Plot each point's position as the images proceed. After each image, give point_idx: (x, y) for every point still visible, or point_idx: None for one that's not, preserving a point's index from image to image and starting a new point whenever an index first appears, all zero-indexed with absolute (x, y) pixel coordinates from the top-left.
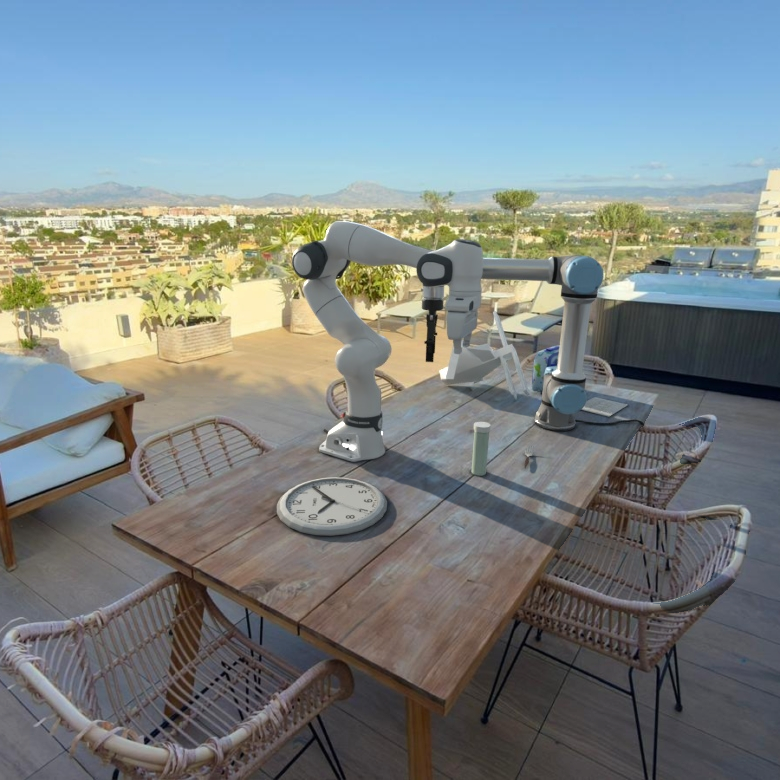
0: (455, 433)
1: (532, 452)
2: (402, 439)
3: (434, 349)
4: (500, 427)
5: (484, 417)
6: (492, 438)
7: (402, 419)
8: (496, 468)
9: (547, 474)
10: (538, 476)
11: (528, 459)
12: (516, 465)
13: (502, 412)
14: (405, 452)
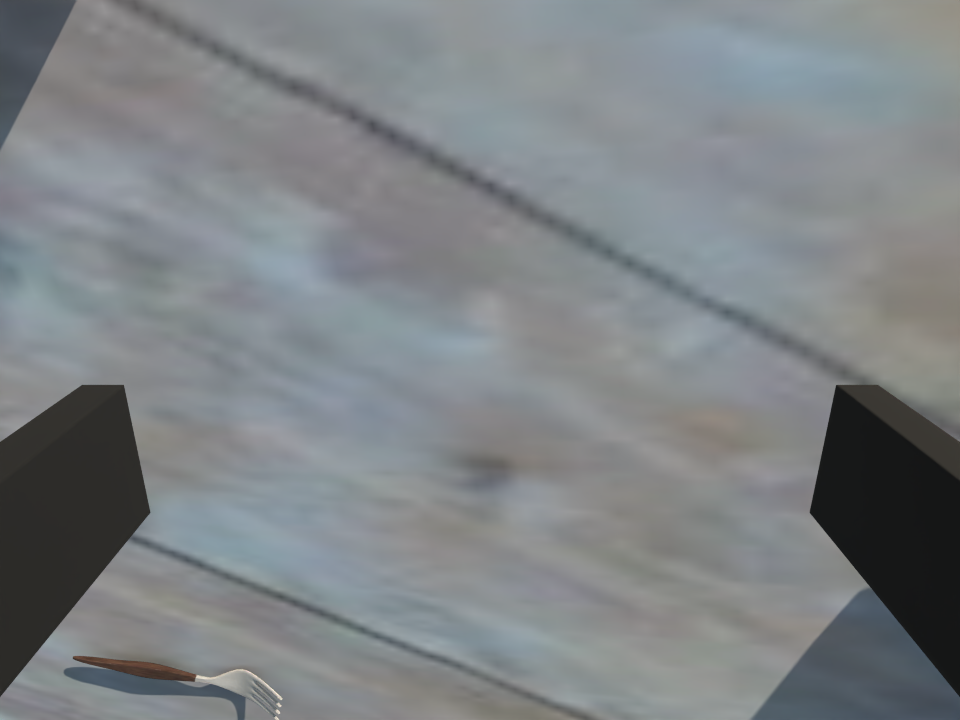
0: (440, 384)
1: (251, 699)
2: (269, 60)
3: (849, 553)
4: (568, 600)
5: (717, 537)
6: (406, 557)
7: (650, 20)
8: None
9: (75, 715)
10: (43, 687)
11: (164, 679)
12: (117, 626)
13: (802, 625)
14: (71, 102)
